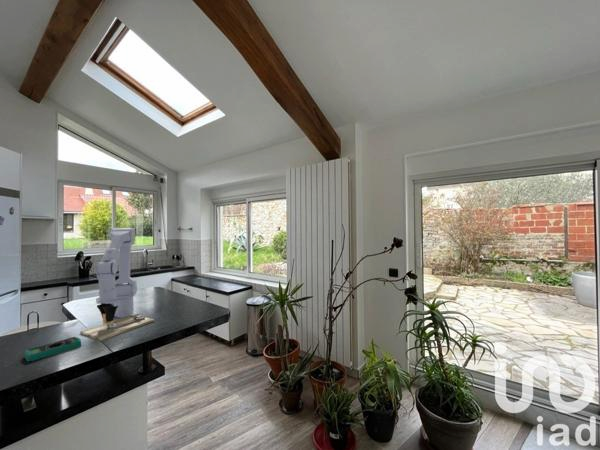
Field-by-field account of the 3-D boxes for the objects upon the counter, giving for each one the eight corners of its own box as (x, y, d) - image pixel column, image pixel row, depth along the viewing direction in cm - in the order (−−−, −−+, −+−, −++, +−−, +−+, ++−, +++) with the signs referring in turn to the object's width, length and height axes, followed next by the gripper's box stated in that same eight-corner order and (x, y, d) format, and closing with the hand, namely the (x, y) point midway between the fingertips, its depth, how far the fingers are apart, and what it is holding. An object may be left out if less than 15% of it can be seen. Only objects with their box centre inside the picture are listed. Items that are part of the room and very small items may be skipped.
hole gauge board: (80, 333, 112) (80, 325, 112) (133, 316, 131) (133, 309, 131) (100, 340, 104) (100, 331, 104) (153, 321, 124) (153, 313, 124)
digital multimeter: (83, 347, 100) (83, 339, 100) (27, 364, 88) (27, 355, 88) (77, 342, 105) (77, 334, 105) (23, 358, 93) (23, 349, 93)
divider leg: (102, 328, 113) (102, 313, 113) (111, 326, 116) (110, 311, 116) (110, 331, 111) (109, 315, 111) (118, 328, 113) (117, 313, 113)
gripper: (87, 289, 114) (88, 321, 114) (106, 293, 107) (107, 326, 107) (106, 286, 120) (107, 316, 120) (124, 289, 113) (125, 320, 113)
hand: (108, 320), depth 114 cm, fingers closed on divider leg, 2 cm apart
